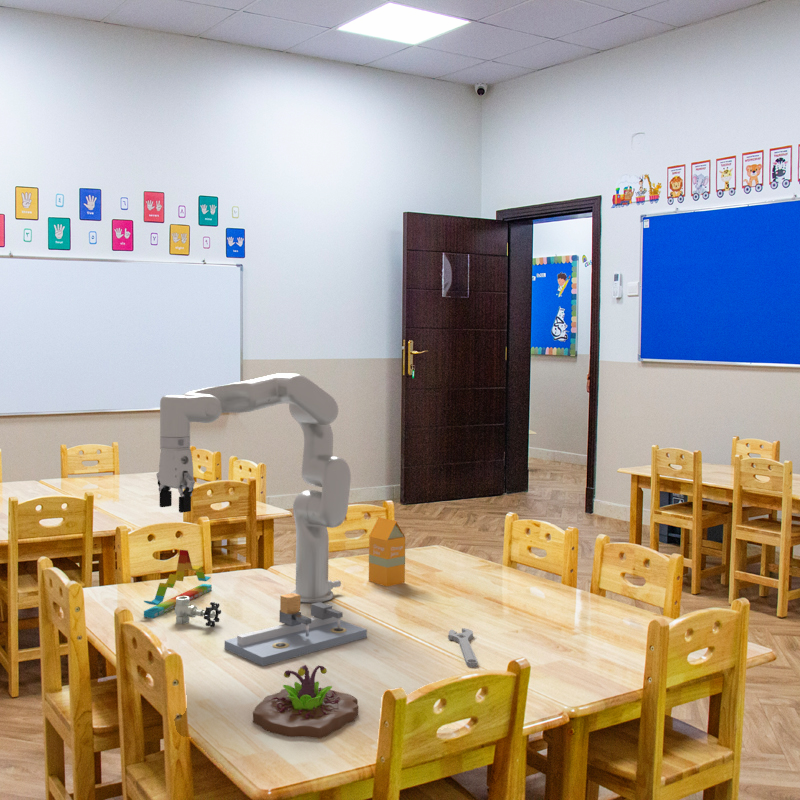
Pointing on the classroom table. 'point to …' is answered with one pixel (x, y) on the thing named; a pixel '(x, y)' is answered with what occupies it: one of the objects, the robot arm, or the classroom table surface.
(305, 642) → the bolt hole plate
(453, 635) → the adjustable wrench
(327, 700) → the plant
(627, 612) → the classroom table surface
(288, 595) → the divider leg
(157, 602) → the chart
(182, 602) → the valve
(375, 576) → the orange juice
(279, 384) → the robot arm
